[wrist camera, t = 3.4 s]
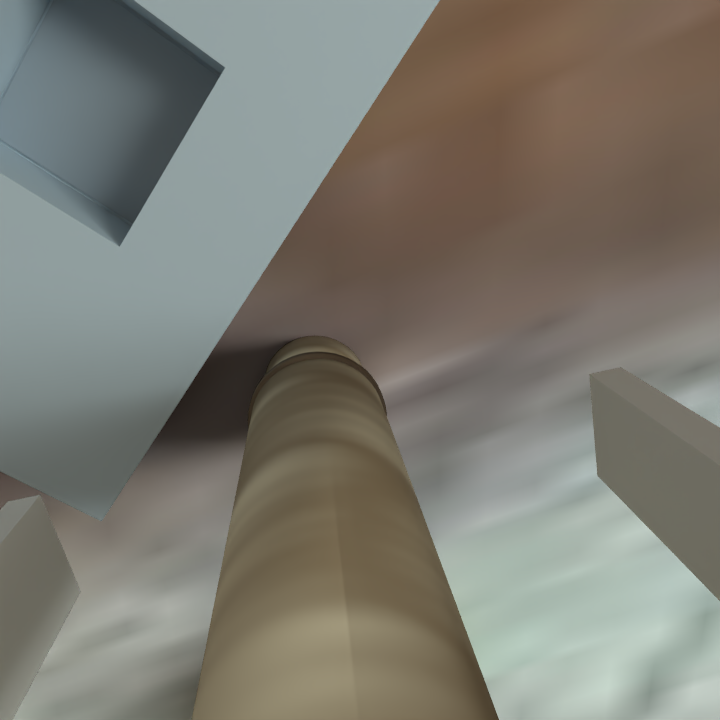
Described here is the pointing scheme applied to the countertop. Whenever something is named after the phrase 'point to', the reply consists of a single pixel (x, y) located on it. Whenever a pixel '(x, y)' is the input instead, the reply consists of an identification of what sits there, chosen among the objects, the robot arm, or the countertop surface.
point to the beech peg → (331, 565)
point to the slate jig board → (155, 200)
